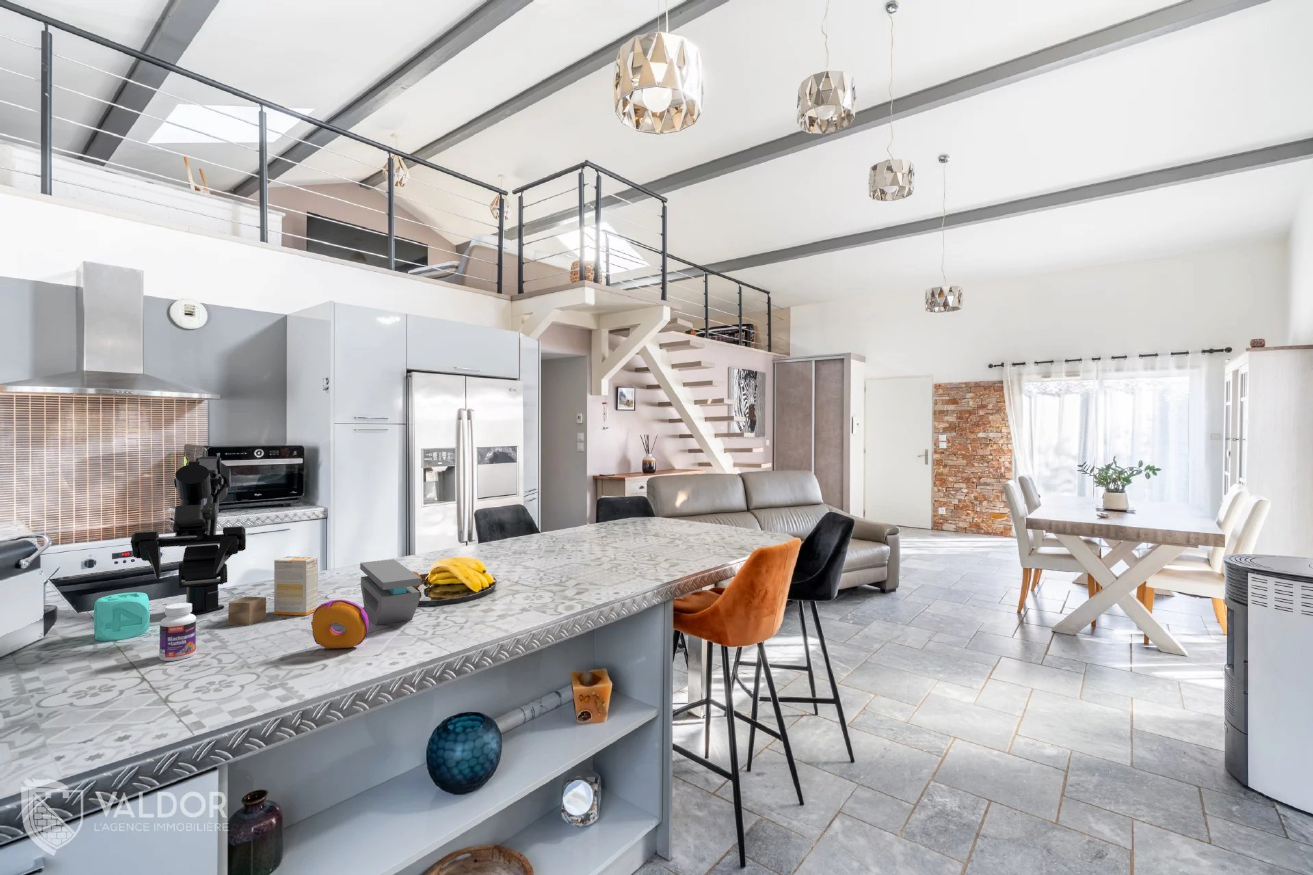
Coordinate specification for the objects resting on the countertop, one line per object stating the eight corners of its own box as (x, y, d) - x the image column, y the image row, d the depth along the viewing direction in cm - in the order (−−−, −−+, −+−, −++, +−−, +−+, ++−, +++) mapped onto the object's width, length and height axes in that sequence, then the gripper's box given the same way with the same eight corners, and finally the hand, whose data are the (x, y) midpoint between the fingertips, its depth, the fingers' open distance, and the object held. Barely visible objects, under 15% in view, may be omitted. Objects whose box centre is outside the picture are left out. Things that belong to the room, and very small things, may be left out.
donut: (340, 639, 123) (341, 591, 123) (373, 646, 120) (374, 596, 120) (305, 652, 116) (305, 601, 116) (339, 659, 113) (340, 606, 113)
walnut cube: (228, 624, 133) (228, 602, 133) (245, 618, 138) (245, 596, 138) (249, 625, 132) (249, 603, 132) (265, 618, 137) (266, 597, 137)
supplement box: (319, 610, 144) (319, 556, 144) (305, 616, 139) (306, 560, 139) (287, 609, 145) (288, 555, 145) (272, 614, 140) (273, 559, 140)
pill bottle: (166, 663, 109) (167, 611, 109) (154, 657, 112) (155, 606, 112) (200, 655, 114) (201, 604, 114) (188, 649, 117) (189, 599, 117)
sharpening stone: (420, 626, 133) (420, 578, 133) (382, 633, 128) (383, 582, 128) (393, 601, 153) (393, 559, 153) (359, 606, 148) (360, 562, 148)
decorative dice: (149, 634, 125) (150, 596, 125) (97, 644, 119) (98, 604, 119) (143, 626, 130) (143, 590, 131) (93, 635, 125) (94, 596, 125)
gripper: (133, 492, 120) (119, 555, 110) (246, 488, 130) (242, 547, 120) (140, 526, 126) (128, 589, 117) (247, 521, 136) (243, 578, 127)
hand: (187, 575), depth 120 cm, fingers open, 9 cm apart
